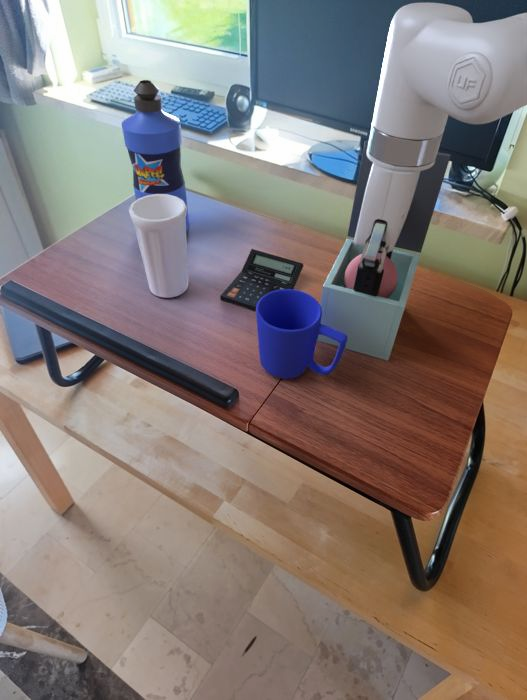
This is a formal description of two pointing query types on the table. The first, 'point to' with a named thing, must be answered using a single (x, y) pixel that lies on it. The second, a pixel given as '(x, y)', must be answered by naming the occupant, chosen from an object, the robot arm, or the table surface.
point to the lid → (420, 205)
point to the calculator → (261, 279)
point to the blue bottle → (154, 146)
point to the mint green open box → (365, 305)
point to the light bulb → (387, 280)
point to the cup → (162, 242)
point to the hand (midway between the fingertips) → (372, 275)
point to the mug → (292, 333)
